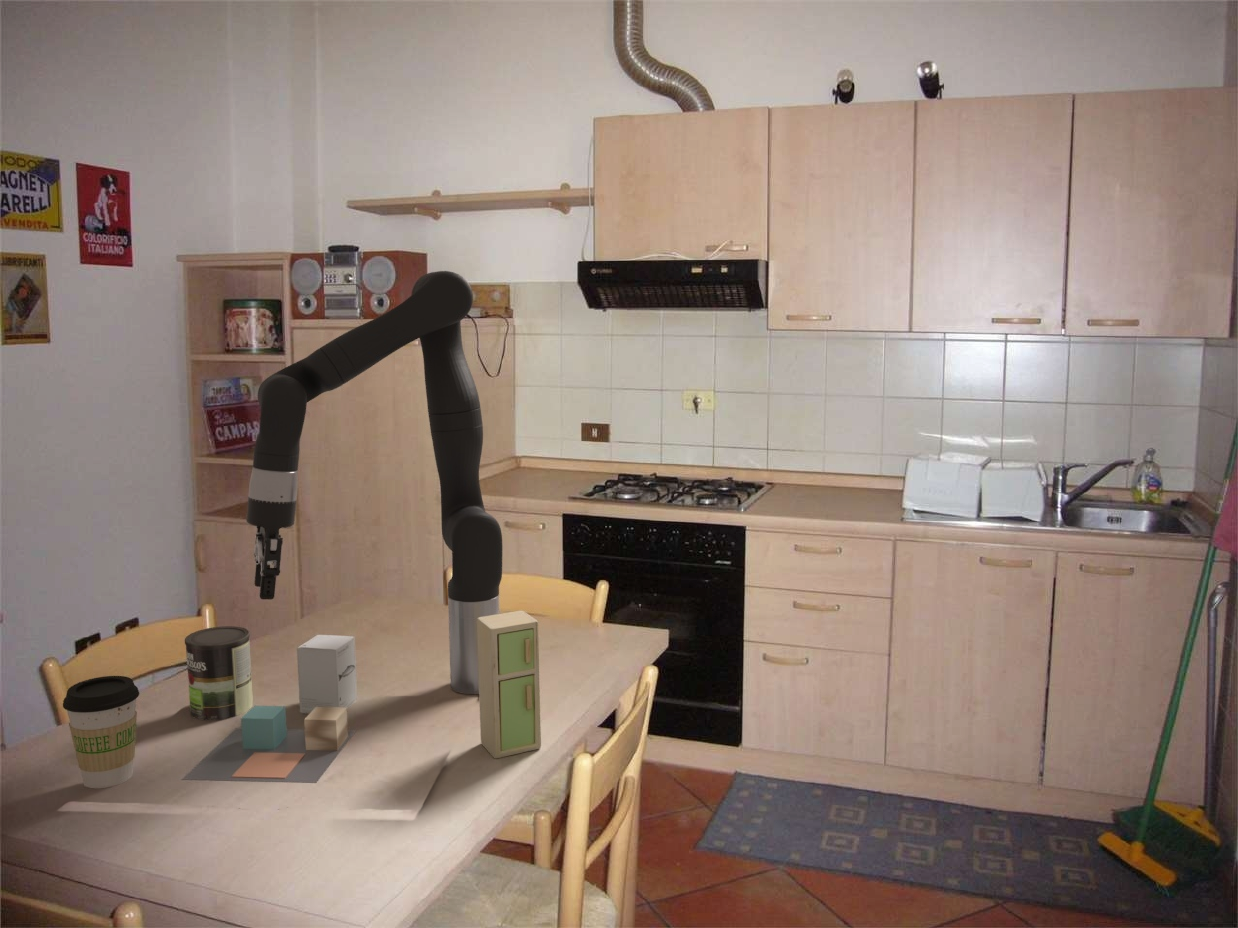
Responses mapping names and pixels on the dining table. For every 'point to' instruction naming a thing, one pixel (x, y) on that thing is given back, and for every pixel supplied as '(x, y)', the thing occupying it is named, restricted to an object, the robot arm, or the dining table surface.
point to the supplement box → (327, 672)
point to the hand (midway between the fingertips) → (263, 592)
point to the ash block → (326, 728)
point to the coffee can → (219, 672)
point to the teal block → (264, 727)
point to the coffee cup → (103, 728)
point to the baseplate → (265, 761)
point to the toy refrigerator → (509, 683)
